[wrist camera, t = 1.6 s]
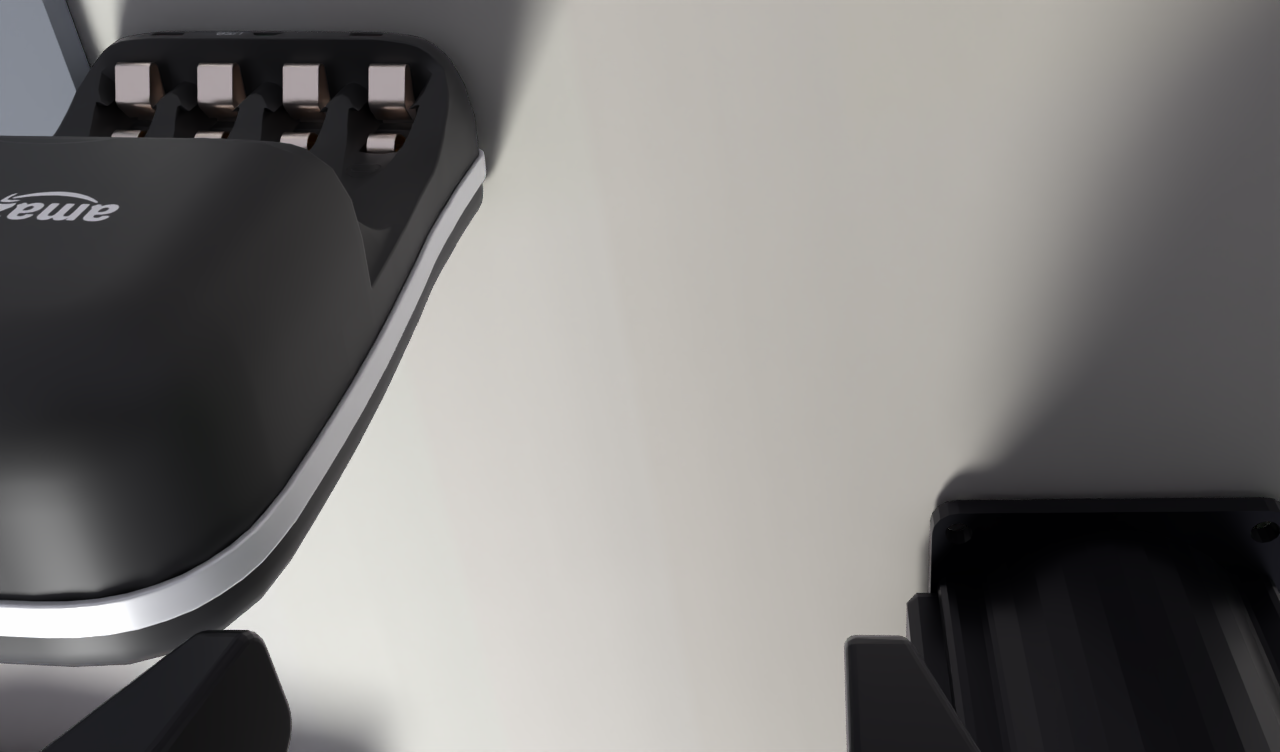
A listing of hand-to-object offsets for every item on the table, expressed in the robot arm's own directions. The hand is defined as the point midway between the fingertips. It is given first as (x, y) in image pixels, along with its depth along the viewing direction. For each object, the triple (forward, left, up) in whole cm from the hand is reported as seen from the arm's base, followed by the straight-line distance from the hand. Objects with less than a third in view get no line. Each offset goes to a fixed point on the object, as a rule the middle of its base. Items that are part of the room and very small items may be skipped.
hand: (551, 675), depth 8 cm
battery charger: (+7, 0, -13) cm, 15 cm away
